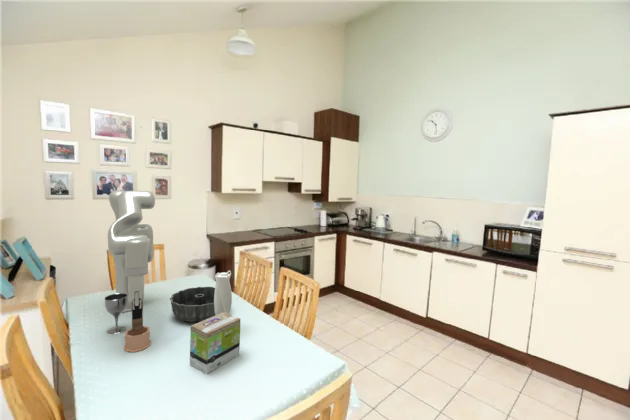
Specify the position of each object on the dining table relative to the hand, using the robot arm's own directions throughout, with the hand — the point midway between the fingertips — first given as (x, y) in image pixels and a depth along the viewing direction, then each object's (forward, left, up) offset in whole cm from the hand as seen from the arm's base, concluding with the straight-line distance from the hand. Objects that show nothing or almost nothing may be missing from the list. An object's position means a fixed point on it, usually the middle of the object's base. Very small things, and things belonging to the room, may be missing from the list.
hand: (137, 315), depth 114 cm
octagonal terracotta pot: (0, 0, -12) cm, 12 cm away
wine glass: (-18, -8, -12) cm, 23 cm away
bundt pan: (-19, +26, -13) cm, 35 cm away
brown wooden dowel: (0, 0, -5) cm, 5 cm away
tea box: (+23, +25, -12) cm, 36 cm away
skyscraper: (+4, +32, -12) cm, 35 cm away
